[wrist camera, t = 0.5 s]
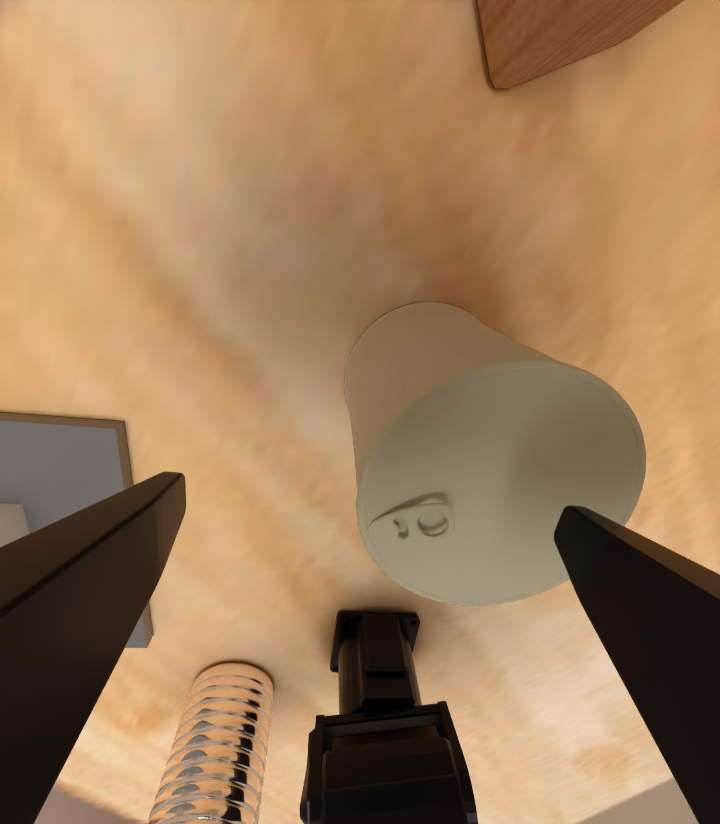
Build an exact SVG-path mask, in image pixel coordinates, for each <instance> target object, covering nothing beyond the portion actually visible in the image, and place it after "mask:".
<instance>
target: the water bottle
mask: <svg viewBox="0 0 720 824" xmlns="http://www.w3.org/2000/svg"><path fill="white" fill-rule="evenodd" d="M273 700H274V690H273V684H272V682H271V680H270V678H269V677H268V676H267V675H266V674H265V673H264V672H263V671H262V670H260V669H258V668H256V667H254V666H251V665H248V664H243V663H224V664H219V665H216V666H213V667H211V668H209V669H207V670H205V671H204V672H202V673H201V674H200V675H199V676H198V677H197V679H196V680H195V682H194V684H193V686H192V688H191V690H190V693H189V696H188V698H187V700H186V703H185V707H184V710H183V713H182V716H181V720H180V723H179V725H178V728H177V731H176V736H175V738H174V741H173V744H172V747H171V752H170V754H169V756H168V759H167V763H166V767H165V770H164V772H163V775H162V778H161V783H160V786H159V788H158V791H157V794H156V797H155V802H154V804H153V807H152V809H151V812H150V816H149V821H148V824H258V821H259V814H260V804H261V799H262V788H263V783H264V772H265V767H266V756H267V751H268V741H269V736H270V726H271V719H272V712H273Z"/></svg>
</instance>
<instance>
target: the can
mask: <svg viewBox="0 0 720 824" xmlns="http://www.w3.org/2000/svg"><path fill="white" fill-rule="evenodd" d="M344 393H345V399H346V403H347V406H348V409H349V411H350V418H351V427H352V436H353V445H354V455H355V467H356V479H357V500H356V507H357V519H358V525H359V529H360V533H361V536H362V539H363V541H364V543H365V546H366V548H367V550H368V552H369V553H370V555H371V557H372V558H373V560H374V561H375V562H376V564H377V565H378V566H379V567H380V568H381V569H382V570H383V572H384V573H385V574H386V575H387V576H388V577H390V578H391V579H392V580H393V581H394V582H396V583H397V584H399V585H400V586H402V587H403V588H405V589H407V590H409V591H411V592H413V593H415V594H417V595H419V596H422V597H425V598H427V599H430V600H434V601H437V602H442V603H447V604H454V605H462V606H486V605H495V604H502V603H507V602H512V601H516V600H520V599H524V598H527V597H530V596H533V595H536V594H539V593H541V592H544V591H546V590H548V589H551V588H553V587H555V586H557V585H559V584H561V583H562V582H564V581H566V580H567V579H569V578H570V577H569V575H568V573H567V570H566V568H565V566H564V563H563V561H562V559H561V556H560V554H559V552H558V549H557V547H556V545H555V542H554V531H555V528H556V526H557V523H558V521H559V518H560V516H561V514H562V511H563V509H564V508H565V507H566V506H569V505H573V506H583V507H586V508H588V509H590V510H592V511H594V512H596V513H598V514H600V515H602V516H604V517H606V518H608V519H610V520H612V521H614V522H616V523H618V524H620V525H622V526H625V525H626V523H627V522H628V520H629V519H630V517H631V515H632V513H633V511H634V509H635V507H636V505H637V502H638V499H639V496H640V493H641V491H642V487H643V483H644V478H645V470H646V450H645V444H644V438H643V434H642V431H641V428H640V425H639V423H638V420H637V418H636V416H635V414H634V412H633V411H632V409H631V408H630V406H629V405H628V404H627V402H626V401H625V400H624V399H623V398H622V397H621V396H620V394H619V393H618V392H617V391H616V390H615V389H613V388H612V387H611V386H610V385H608V384H607V383H606V382H605V381H603V380H602V379H600V378H598V377H597V376H595V375H593V374H591V373H589V372H587V371H585V370H583V369H580V368H577V367H575V366H571V365H568V364H564V363H561V362H559V361H557V360H555V359H553V358H551V357H549V356H547V355H544V354H542V353H540V352H538V351H536V350H534V349H532V348H530V347H528V346H526V345H524V344H521V343H519V342H517V341H516V340H514V339H512V338H510V337H508V336H506V335H504V334H502V333H500V332H498V331H496V330H494V329H492V328H490V327H488V326H486V325H484V324H482V323H481V322H480V321H479V320H478V319H477V318H476V317H474V316H473V315H471V314H470V313H469V312H467V311H465V310H463V309H461V308H458V307H456V306H453V305H449V304H445V303H439V302H420V303H414V304H409V305H405V306H402V307H399V308H397V309H395V310H392V311H390V312H389V313H387V314H385V315H383V316H382V317H380V318H379V319H378V320H376V321H375V322H374V323H373V324H372V325H370V326H369V327H368V328H367V329H366V331H365V332H364V333H363V334H362V335H361V337H360V338H359V339H358V341H357V342H356V344H355V346H354V347H353V349H352V351H351V353H350V356H349V358H348V361H347V365H346V369H345V375H344Z"/></svg>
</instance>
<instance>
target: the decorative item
mask: <svg viewBox="0 0 720 824" xmlns="http://www.w3.org/2000/svg"><path fill="white" fill-rule="evenodd" d="M477 1H478V7H479V13H480V19H481V25H482V31H483V37H484V43H485V49H486V55H487V61H488V67H489V73H490V79H491V81H492V83H493V85H494V87H495V88H511V87H513V86H515V85H518V84H520V83H523V82H525V81H528V80H530V79H532V78H535V77H537V76H540V75H542V74H545V73H547V72H549V71H552V70H554V69H557V68H559V67H562V66H564V65H566V64H569V63H571V62H574V61H576V60H579V59H581V58H583V57H586V56H588V55H591V54H593V53H596V52H598V51H600V50H603V49H605V48H608V47H610V46H613V45H615V44H617V43H620V42H622V41H625V40H627V39H630V38H631V37H632V36H634V35H635V34H637V33H638V32H640V31H641V30H643V29H644V28H645V27H647V26H648V25H650V24H651V23H653V22H654V21H655V20H657V19H658V18H660V17H661V16H663V15H664V14H665V13H667V12H668V11H670V10H671V9H673V8H674V7H675V6H677V5H678V4H680V3H681V2H683V1H684V0H477Z"/></svg>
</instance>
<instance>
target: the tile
mask: <svg viewBox="0 0 720 824" xmlns="http://www.w3.org/2000/svg"><path fill="white" fill-rule="evenodd" d="M28 534H30V531H29V528H28V524H27V520H26V517H25V513H24V509H23V506H22V504H4V503H0V547H2V546H4V545H6V544H8V543H10V542H13V541H15V540H17V539H19V538H21V537H23V536H25V535H28Z"/></svg>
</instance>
